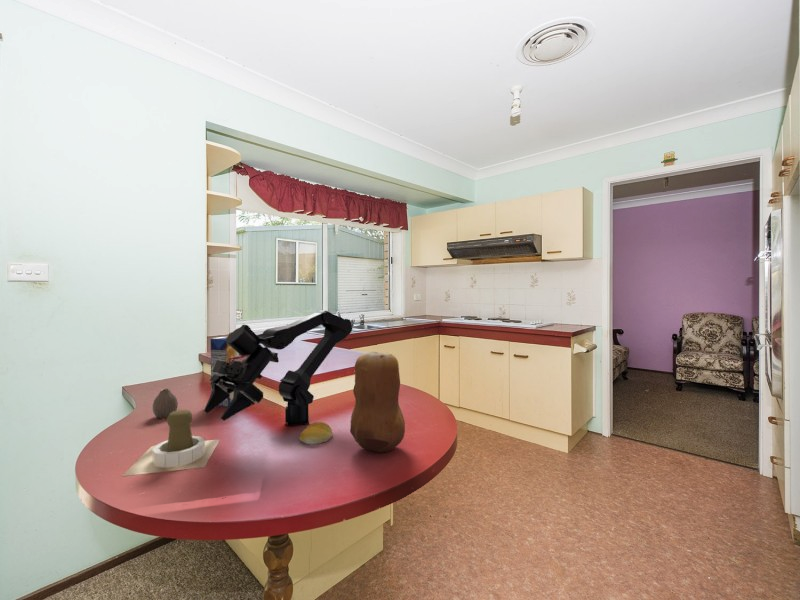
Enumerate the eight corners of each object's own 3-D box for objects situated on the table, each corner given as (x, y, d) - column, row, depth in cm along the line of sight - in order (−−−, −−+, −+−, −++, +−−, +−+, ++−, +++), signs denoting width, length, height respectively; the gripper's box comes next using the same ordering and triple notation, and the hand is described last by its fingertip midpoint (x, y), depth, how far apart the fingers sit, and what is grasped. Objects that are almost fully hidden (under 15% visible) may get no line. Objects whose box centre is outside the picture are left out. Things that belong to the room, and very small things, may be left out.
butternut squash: (400, 437, 101) (399, 347, 100) (409, 458, 88) (409, 355, 87) (349, 440, 99) (348, 348, 98) (351, 463, 85) (350, 357, 85)
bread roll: (295, 444, 97) (295, 429, 97) (309, 432, 106) (309, 418, 105) (324, 446, 95) (324, 431, 95) (336, 433, 104) (336, 420, 104)
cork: (171, 465, 83) (170, 417, 83) (161, 457, 86) (160, 411, 86) (199, 455, 88) (198, 410, 87) (188, 449, 91) (187, 405, 91)
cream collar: (209, 445, 93) (208, 434, 93) (197, 464, 83) (197, 451, 83) (163, 450, 91) (162, 438, 91) (145, 470, 81) (145, 456, 80)
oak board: (220, 443, 97) (220, 439, 97) (204, 471, 82) (204, 466, 82) (151, 449, 93) (151, 446, 93) (121, 480, 78) (121, 476, 78)
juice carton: (236, 396, 142) (235, 334, 141) (251, 398, 139) (251, 335, 139) (211, 405, 131) (210, 338, 130) (227, 407, 128) (226, 339, 128)
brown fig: (147, 418, 117) (147, 391, 117) (168, 412, 123) (168, 386, 123) (162, 421, 114) (161, 393, 114) (182, 414, 121) (182, 388, 121)
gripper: (216, 345, 103) (173, 392, 94) (251, 351, 91) (206, 406, 83) (243, 368, 109) (205, 414, 101) (279, 376, 98) (240, 430, 89)
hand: (213, 415), depth 93 cm, fingers open, 9 cm apart
